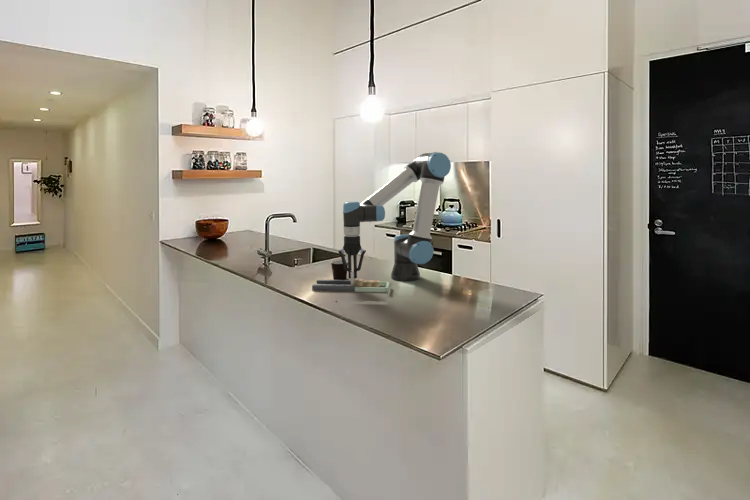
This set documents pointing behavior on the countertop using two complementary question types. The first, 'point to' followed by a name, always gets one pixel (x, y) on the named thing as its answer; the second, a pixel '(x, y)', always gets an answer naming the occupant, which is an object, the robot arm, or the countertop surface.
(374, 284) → the beige cubic piece
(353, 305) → the countertop surface
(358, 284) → the tan cubic piece
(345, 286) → the slot channel
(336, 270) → the coffee mug
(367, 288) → the tray
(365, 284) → the tan wooden block
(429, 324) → the countertop surface
